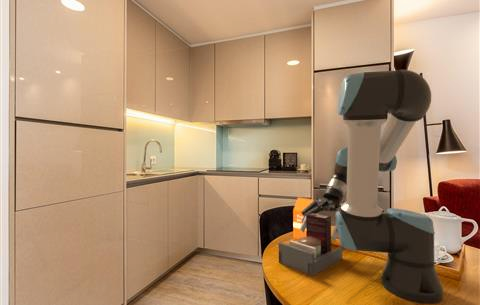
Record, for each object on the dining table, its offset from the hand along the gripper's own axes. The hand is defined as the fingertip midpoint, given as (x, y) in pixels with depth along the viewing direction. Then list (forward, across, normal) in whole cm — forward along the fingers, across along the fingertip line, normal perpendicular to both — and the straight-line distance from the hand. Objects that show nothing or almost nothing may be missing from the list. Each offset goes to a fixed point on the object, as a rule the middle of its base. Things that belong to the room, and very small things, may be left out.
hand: (316, 234), depth 95 cm
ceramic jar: (+10, 0, -2) cm, 10 cm away
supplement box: (+5, 0, -7) cm, 9 cm away
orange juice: (-4, +16, -19) cm, 25 cm away
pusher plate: (+13, 0, +1) cm, 13 cm away
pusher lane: (+10, 0, -4) cm, 11 cm away
